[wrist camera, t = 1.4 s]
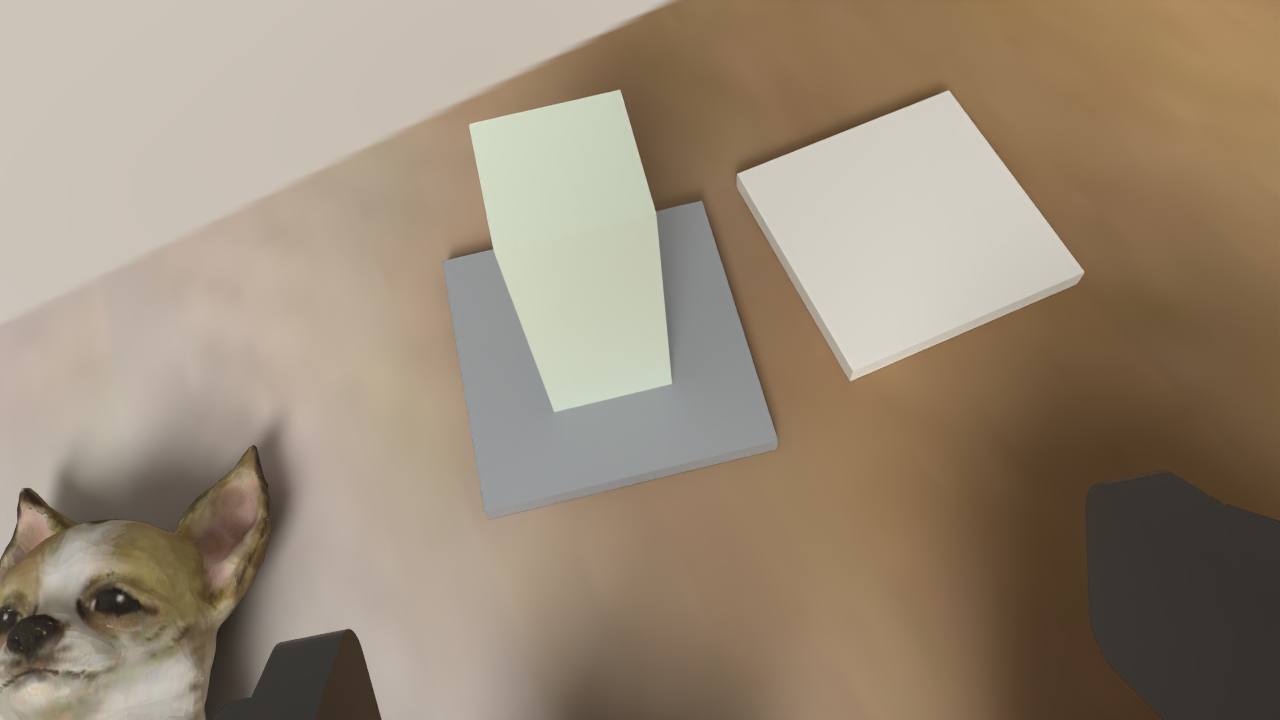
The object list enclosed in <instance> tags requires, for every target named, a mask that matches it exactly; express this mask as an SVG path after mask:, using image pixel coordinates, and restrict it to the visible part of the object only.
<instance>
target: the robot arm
mask: <svg viewBox="0 0 1280 720" xmlns="http://www.w3.org/2000/svg"><path fill="white" fill-rule="evenodd" d="M1086 532H1087V564H1088V595H1089V615H1090V621H1091V625H1092V629H1093V632H1094V635H1095V638H1096V641H1097V643H1098V646H1099V648H1100V650H1101V652H1102V654H1103V655H1104V657H1105V659H1106V660H1107V662H1108V663H1109V665H1110V666H1111V667H1112V668H1113V670H1114V671H1115V672H1116V673H1117V674H1118V675H1119V676H1120V677H1121V678H1122V679H1123V680H1124V681H1125V682H1126V683H1127V684H1128V685H1129V686H1130V687H1131V688H1132V689H1133V690H1134V691H1135V692H1136V693H1137V694H1138V695H1139V696H1140V697H1141V698H1142V699H1143V700H1144V701H1145V702H1146V703H1147V704H1148V705H1149V706H1150V707H1151V708H1152V709H1153V710H1154V711H1155V712H1156V713H1157V714H1158V715H1159V716H1160V717H1161V718H1162V719H1163V720H1280V521H1277V520H1274V519H1271V518H1268V517H1265V516H1261V515H1258V514H1255V513H1252V512H1249V511H1246V510H1243V509H1239V508H1236V507H1233V506H1230V505H1227V504H1226V505H1223V504H1222V503H1220V502H1219V501H1217V500H1215V499H1214V498H1212V497H1210V496H1209V495H1207V494H1205V493H1204V492H1202V491H1201V490H1199V489H1197V488H1196V487H1194V486H1192V485H1191V484H1189V483H1187V482H1186V481H1184V480H1183V479H1181V478H1179V477H1178V476H1176V475H1174V474H1172V473H1170V472H1167V471H1157V472H1152V473H1147V474H1142V475H1137V476H1132V477H1127V478H1122V479H1117V480H1112V481H1106V482H1101V483H1097V484H1095V485H1093V486H1092V487H1091V489H1090V490H1089V492H1088V495H1087V500H1086ZM211 720H381V716H380V713H379V709H378V705H377V702H376V698H375V694H374V691H373V687H372V684H371V680H370V676H369V673H368V669H367V665H366V662H365V658H364V655H363V651H362V648H361V645H360V642H359V640H358V638H357V636H356V634H355V633H354V632H353V631H352V630H351V629H346V630H341V631H336V632H331V633H326V634H321V635H315V636H310V637H305V638H300V639H295V640H290V641H285V642H280V643H278V644H277V645H276V646H275V647H274V649H273V651H272V653H271V655H270V657H269V659H268V662H267V664H266V666H265V668H264V671H263V673H262V675H261V677H260V679H259V682H258V684H257V686H256V688H255V690H254V693H253V695H252V697H250V698H245V699H240V700H235V701H230V702H228V703H227V704H226V705H225V706H224V707H223V708H222V709H221V710H220V711H219V712H218V713H217V714H216V715H215V716H214V717H213V718H212V719H211Z"/></svg>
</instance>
